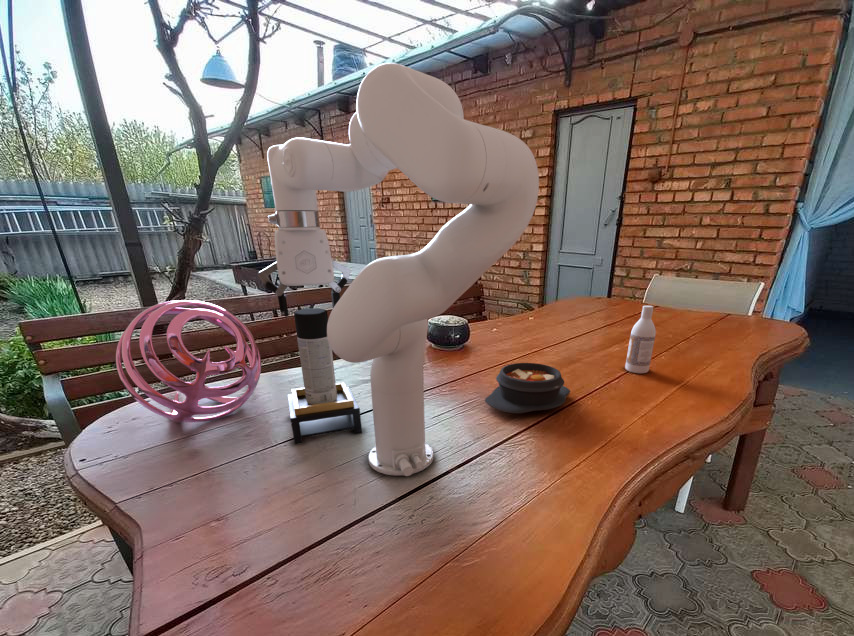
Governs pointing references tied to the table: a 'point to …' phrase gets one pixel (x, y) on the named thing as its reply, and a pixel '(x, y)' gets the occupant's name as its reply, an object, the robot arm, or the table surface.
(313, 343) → the spray can
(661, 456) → the table surface
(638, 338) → the bath foam
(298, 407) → the stand
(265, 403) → the table surface
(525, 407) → the casserole
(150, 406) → the pink lattice ball
